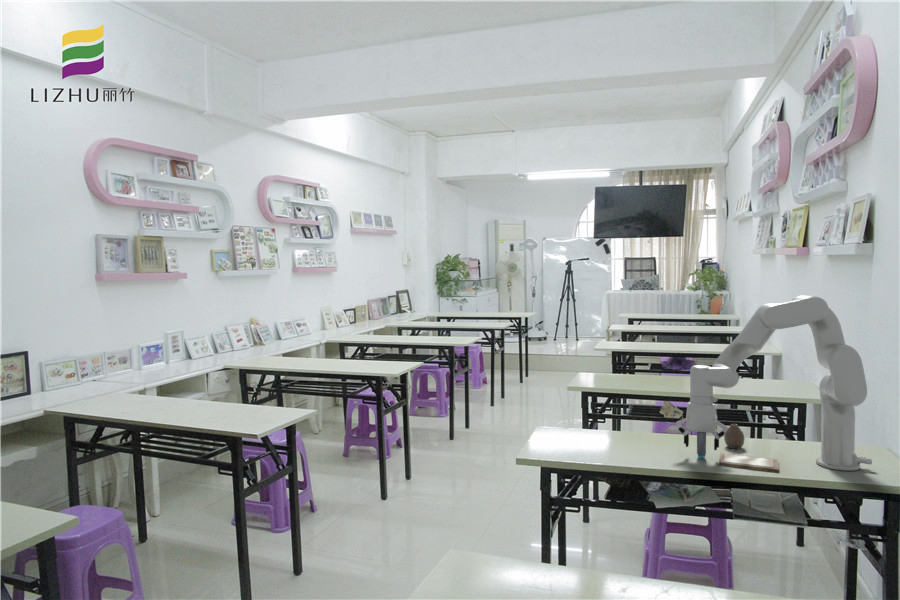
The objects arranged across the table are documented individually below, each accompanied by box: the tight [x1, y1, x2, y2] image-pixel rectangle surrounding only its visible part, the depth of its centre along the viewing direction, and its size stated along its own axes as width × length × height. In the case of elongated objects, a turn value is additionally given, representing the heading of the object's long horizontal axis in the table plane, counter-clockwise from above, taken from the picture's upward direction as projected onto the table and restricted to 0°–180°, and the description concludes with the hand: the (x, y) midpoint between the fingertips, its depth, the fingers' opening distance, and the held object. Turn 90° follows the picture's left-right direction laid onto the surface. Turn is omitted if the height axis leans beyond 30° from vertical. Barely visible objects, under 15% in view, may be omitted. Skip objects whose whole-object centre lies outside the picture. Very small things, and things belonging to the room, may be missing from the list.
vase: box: [723, 423, 745, 449], centre depth 221 cm, size 7×7×9 cm
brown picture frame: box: [718, 452, 780, 473], centre depth 201 cm, size 18×12×1 cm, turn 62°
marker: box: [696, 432, 707, 460], centre depth 207 cm, size 3×3×12 cm
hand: (701, 447), depth 208 cm, fingers open, 9 cm apart
